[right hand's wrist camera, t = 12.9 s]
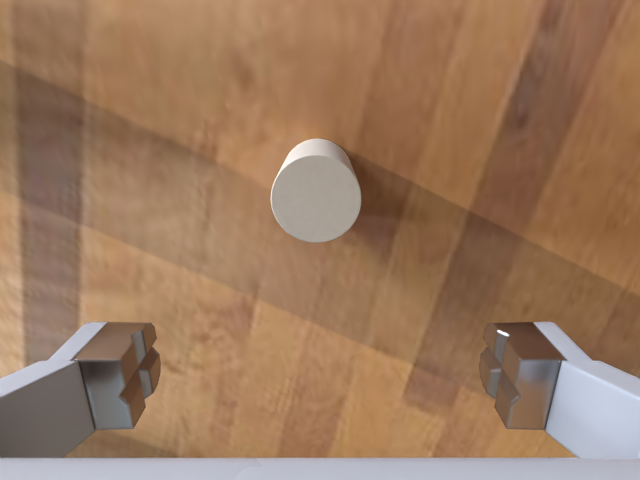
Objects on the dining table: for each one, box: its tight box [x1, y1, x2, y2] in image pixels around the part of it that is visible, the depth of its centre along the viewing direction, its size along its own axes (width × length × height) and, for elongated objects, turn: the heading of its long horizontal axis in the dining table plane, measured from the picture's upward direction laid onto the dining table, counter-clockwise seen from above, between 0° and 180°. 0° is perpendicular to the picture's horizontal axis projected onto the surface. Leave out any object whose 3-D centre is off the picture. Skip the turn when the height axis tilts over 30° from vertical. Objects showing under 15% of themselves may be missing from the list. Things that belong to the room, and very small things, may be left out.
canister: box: [271, 139, 362, 243], centre depth 28 cm, size 5×5×8 cm
